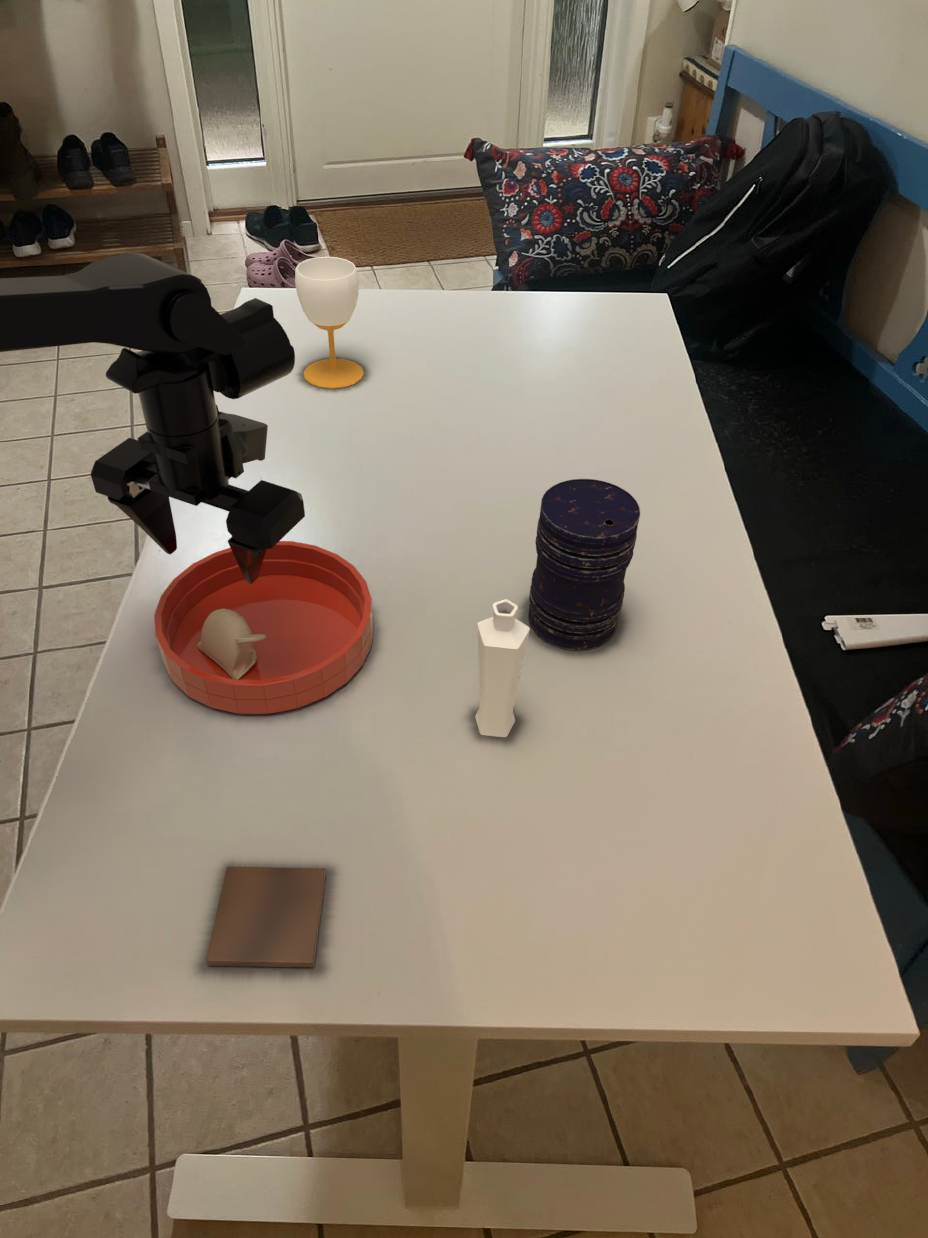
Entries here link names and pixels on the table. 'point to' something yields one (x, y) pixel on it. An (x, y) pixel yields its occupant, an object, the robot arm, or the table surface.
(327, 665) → the bowl
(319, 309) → the cup
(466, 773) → the table surface
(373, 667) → the table surface
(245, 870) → the coaster
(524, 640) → the perfume bottle
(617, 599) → the dark oil barrel
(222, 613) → the decorative ornament
